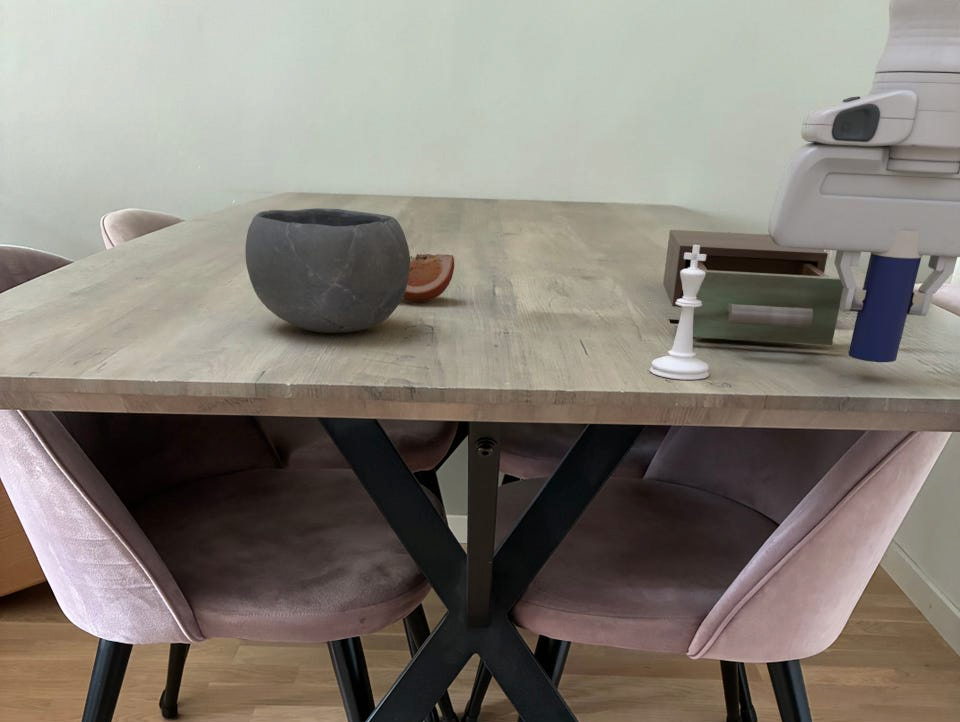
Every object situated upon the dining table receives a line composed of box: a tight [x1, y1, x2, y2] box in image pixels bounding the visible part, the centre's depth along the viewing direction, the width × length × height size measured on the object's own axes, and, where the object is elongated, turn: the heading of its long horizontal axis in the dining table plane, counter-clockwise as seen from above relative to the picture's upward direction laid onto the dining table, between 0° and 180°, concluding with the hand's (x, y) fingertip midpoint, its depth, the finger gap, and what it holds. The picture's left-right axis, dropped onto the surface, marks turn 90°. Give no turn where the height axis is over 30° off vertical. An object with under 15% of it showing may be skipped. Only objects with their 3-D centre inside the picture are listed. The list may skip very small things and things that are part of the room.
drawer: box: [682, 255, 844, 346], centre depth 92 cm, size 19×13×6 cm
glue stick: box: [848, 230, 924, 363], centre depth 77 cm, size 4×4×10 cm
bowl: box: [244, 207, 411, 334], centre depth 88 cm, size 15×15×10 cm
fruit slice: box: [402, 253, 455, 303], centre depth 105 cm, size 8×7×5 cm
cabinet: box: [662, 229, 829, 325], centre depth 104 cm, size 16×15×8 cm
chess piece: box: [649, 245, 710, 381], centre depth 78 cm, size 5×5×10 cm
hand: (881, 312), depth 78 cm, fingers closed on glue stick, 4 cm apart
